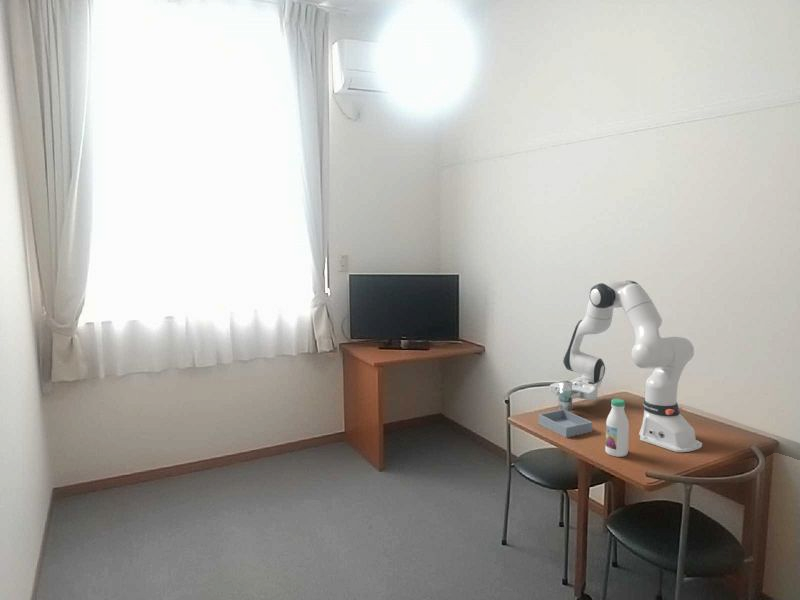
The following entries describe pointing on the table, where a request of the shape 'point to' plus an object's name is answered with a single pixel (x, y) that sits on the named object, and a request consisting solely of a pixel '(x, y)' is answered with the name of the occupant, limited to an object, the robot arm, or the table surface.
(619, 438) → the milk bottle
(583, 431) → the tote
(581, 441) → the table surface
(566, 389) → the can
